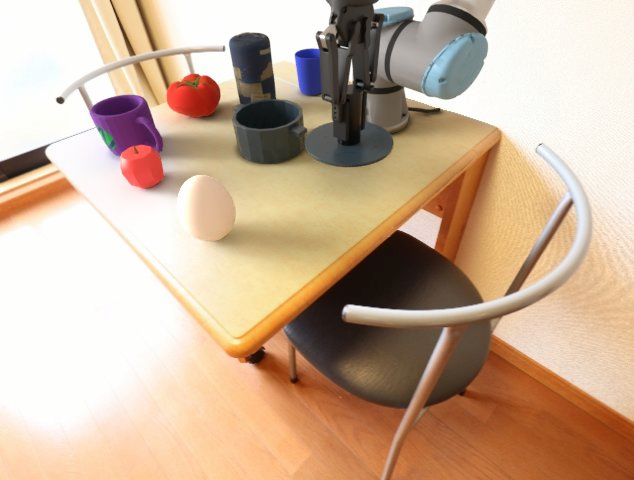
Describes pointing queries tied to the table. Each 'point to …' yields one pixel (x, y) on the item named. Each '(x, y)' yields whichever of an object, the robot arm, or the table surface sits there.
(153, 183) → the apple
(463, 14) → the robot arm
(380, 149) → the lid
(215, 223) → the egg
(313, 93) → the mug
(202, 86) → the tomato
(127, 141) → the mug
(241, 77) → the canister
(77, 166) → the table surface
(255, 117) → the pot
